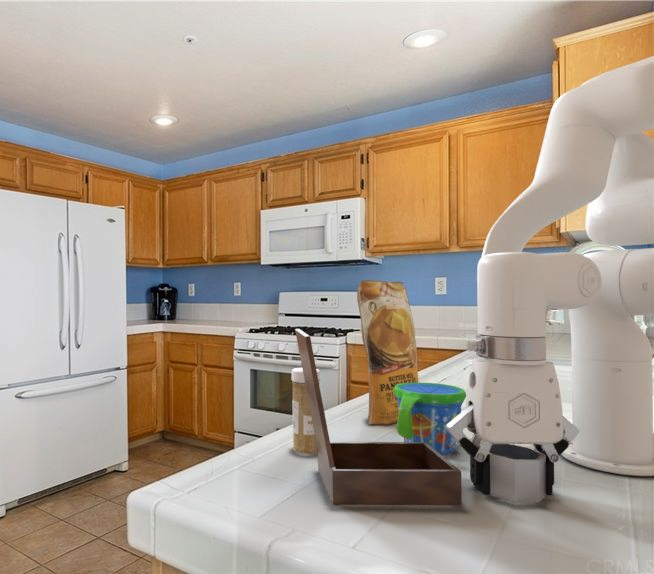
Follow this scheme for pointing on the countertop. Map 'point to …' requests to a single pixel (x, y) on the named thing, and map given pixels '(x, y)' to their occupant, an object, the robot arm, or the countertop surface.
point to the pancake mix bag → (386, 345)
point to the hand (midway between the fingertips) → (511, 489)
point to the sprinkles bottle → (302, 415)
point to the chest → (389, 474)
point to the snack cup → (428, 413)
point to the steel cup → (517, 473)
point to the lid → (314, 395)
